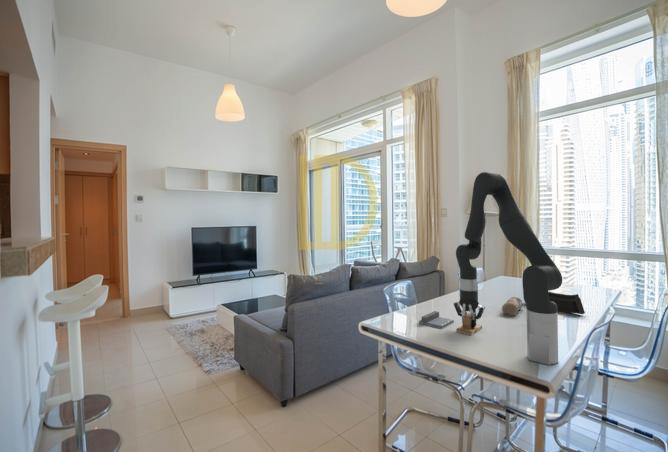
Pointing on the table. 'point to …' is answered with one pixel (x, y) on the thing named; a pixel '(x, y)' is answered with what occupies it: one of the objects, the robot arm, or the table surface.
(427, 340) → the table surface
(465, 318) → the stub
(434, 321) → the board
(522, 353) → the table surface
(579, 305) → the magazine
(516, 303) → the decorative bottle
